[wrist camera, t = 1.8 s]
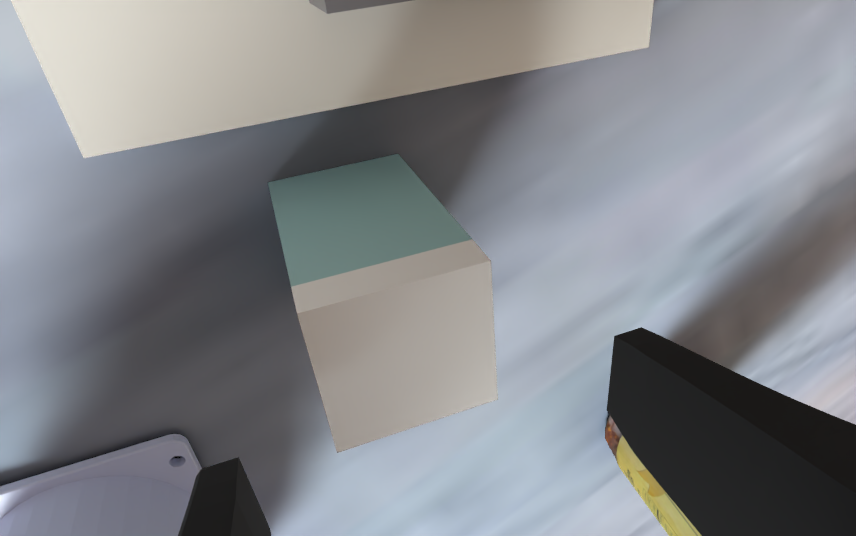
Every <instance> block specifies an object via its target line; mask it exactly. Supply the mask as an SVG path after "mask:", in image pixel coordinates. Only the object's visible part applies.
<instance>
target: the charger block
mask: <svg viewBox="0 0 856 536" xmlns="http://www.w3.org/2000/svg"><path fill="white" fill-rule="evenodd" d="M268 186H269V191H270V195H271V200H272V204H273V208H274V213H275V217H276V222H277V226H278V231H279V235H280V240H281V244H282V249H283V253H284V258H285V262H286V267H287V271H288V276H289V280H290V285H291V289H292V294H293V298H294V303H295V307H296V312H297V315H298V319H299V322H300V326H301V329H302V333H303V336H304V340H305V343H306V347H307V350H308V353H309V357H310V360H311V364H312V367H313V371H314V374H315V378H316V381H317V385H318V388H319V391H320V395H321V398H322V402H323V405H324V409H325V412H326V416H327V419H328V423H329V426H330V429H331V433H332V436H333V440H334V443H335V447H336V450H337V453H338V452H341V451H344V450H347V449H350V448H353V447H356V446H359V445H362V444H365V443H368V442H371V441H374V440H377V439H380V438H383V437H386V436H389V435H392V434H395V433H398V432H401V431H404V430H407V429H410V428H413V427H416V426H419V425H422V424H425V423H428V422H431V421H434V420H437V419H440V418H443V417H446V416H449V415H452V414H455V413H458V412H461V411H464V410H467V409H471V408H474V407H477V406H480V405H483V404H486V403H489V402H492V401H495V400H498V394H497V374H496V354H495V334H494V314H493V294H492V274H491V260H490V259H489V258H488V257H487V256H486V255H485V253H484V252H483V251H482V250H481V249H480V248H479V246H478V245H477V244H476V243H475V242H474V241H473V240H472V238H471V237H470V236H469V235H468V234H467V233H466V232H465V230H464V229H463V228H462V227H461V226H460V225H459V223H458V222H457V221H456V220H455V219H454V218H453V217H452V215H451V214H450V213H449V212H448V211H447V210H446V208H445V207H444V206H443V205H442V204H441V203H440V202H439V200H438V199H437V198H436V197H435V196H434V195H433V194H432V192H431V191H430V190H429V189H428V188H427V187H426V185H425V184H424V183H423V182H422V181H421V180H420V179H419V177H418V176H417V175H416V174H415V173H414V172H413V170H412V169H411V168H410V167H409V166H408V165H407V164H406V162H405V161H404V160H403V159H402V158H401V157H400V156H399V154H395V155H390V156H386V157H381V158H376V159H372V160H367V161H363V162H358V163H354V164H349V165H345V166H340V167H336V168H331V169H326V170H322V171H317V172H313V173H308V174H304V175H299V176H295V177H290V178H286V179H281V180H276V181H272V182H268Z"/></svg>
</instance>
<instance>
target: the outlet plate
mask: <svg viewBox="0 0 856 536" xmlns="http://www.w3.org/2000/svg"><path fill="white" fill-rule="evenodd" d="M11 2H12V4H13V6H14V8H15V10H16V13H17V15H18V17H19V19H20V21H21V23H22V26H23V28H24V30H25V32H26V34H27V36H28V39H29V41H30V43H31V45H32V47H33V49H34V51H35V54H36V56H37V58H38V60H39V62H40V64H41V67H42V69H43V71H44V73H45V75H46V77H47V80H48V82H49V84H50V86H51V88H52V90H53V93H54V95H55V97H56V99H57V101H58V103H59V106H60V108H61V110H62V112H63V114H64V116H65V119H66V121H67V123H68V125H69V127H70V129H71V132H72V134H73V136H74V138H75V140H76V142H77V145H78V147H79V149H80V151H81V153H82V155H83V158H88V157H93V156H98V155H103V154H108V153H113V152H118V151H124V150H129V149H134V148H139V147H144V146H149V145H154V144H159V143H164V142H169V141H175V140H180V139H185V138H190V137H195V136H200V135H205V134H210V133H215V132H220V131H225V130H231V129H236V128H241V127H246V126H251V125H256V124H261V123H266V122H271V121H276V120H281V119H287V118H292V117H297V116H302V115H307V114H312V113H317V112H322V111H327V110H332V109H338V108H343V107H348V106H353V105H358V104H363V103H368V102H373V101H378V100H383V99H388V98H394V97H399V96H404V95H409V94H414V93H419V92H424V91H429V90H434V89H439V88H445V87H450V86H455V85H460V84H465V83H470V82H475V81H480V80H485V79H490V78H495V77H501V76H506V75H511V74H516V73H521V72H526V71H531V70H536V69H541V68H546V67H552V66H557V65H562V64H567V63H572V62H577V61H582V60H587V59H592V58H597V57H602V56H608V55H613V54H618V53H623V52H628V51H633V50H638V49H643V48H648V47H649V40H650V31H651V21H652V12H653V2H654V0H11Z"/></svg>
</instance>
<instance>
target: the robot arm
mask: <svg viewBox="0 0 856 536" xmlns="http://www.w3.org/2000/svg"><path fill="white" fill-rule="evenodd" d="M607 411H608V413H609V414H610V416H611V418H612V419H613V421H614V422H615V424H616V426H617V427H618V429H619V431H620V432H621V434H622V435H623V437H624V438H625V440H626V441H627V443H628V444H629V446H630V447H631V449H632V450H633V452H634V454H635V455H636V456H637V458H638V459H639V460H640V461H641V463H642V464H643V465H644V466H645V468H646V469H647V470H648V471H649V472H650V474H651V475H652V476H653V477H654V479H655V480H656V481H657V482H658V483H659V485H660V486H661V487H662V488H663V490H664V491H665V492H666V493H667V494H668V496H669V497H670V498H671V499H672V500H673V502H674V503H675V504H676V505H677V506H678V508H679V509H680V510H681V511H682V512H683V514H684V515H685V516H686V517H687V519H688V520H689V521H690V522H691V523H692V525H693V526H694V527H695V528H696V529H697V531H698V532H699V533H700V534H701V535H702V536H856V425H855V424H852V423H850V422H847V421H845V420H842V419H840V418H837V417H835V416H832V415H830V414H827V413H825V412H823V411H820V410H818V409H816V408H813V407H811V406H808V405H806V404H804V403H801V402H799V401H797V400H794V399H792V398H790V397H787V396H785V395H783V394H781V393H779V392H776V391H774V390H772V389H770V388H767V387H765V386H763V385H761V384H759V383H757V382H754V381H752V380H750V379H748V378H746V377H744V376H742V375H740V374H737V373H735V372H733V371H731V370H729V369H727V368H725V367H723V366H721V365H719V364H717V363H715V362H713V361H711V360H709V359H707V358H704V357H702V356H700V355H698V354H696V353H694V352H692V351H690V350H688V349H686V348H684V347H682V346H680V345H678V344H676V343H674V342H672V341H670V340H668V339H666V338H663V337H661V336H659V335H657V334H655V333H653V332H650V331H648V330H646V329H644V328H638V329H635V330H632V331H629V332H626V333H623V334H620V335H617V336H614V346H613V355H612V365H611V375H610V385H609V394H608V404H607ZM175 456H182V457H181V458H173V457H175ZM0 536H271V532H270V528H269V526H268V523H267V521H266V519H265V517H264V514H263V512H262V510H261V507H260V505H259V503H258V501H257V498H256V496H255V494H254V492H253V489H252V487H251V485H250V482H249V480H248V478H247V476H246V473H245V471H244V469H243V466H242V464H241V462H240V460H239V457H238V458H235V459H232V460H229V461H226V462H223V463H219V464H216V465H213V466H210V467H207V468H204V469H202V467H201V465H200V463H199V461H198V459H197V457H196V455H195V453H194V451H193V449H192V447H191V445H190V443H189V441H188V440H187V439H186V437H185V436H182V435H180V434H170V435H166V436H163V437H159V438H156V439H153V440H150V441H146V442H143V443H140V444H137V445H133V446H130V447H127V448H124V449H120V450H117V451H114V452H110V453H107V454H104V455H101V456H97V457H94V458H91V459H88V460H84V461H81V462H78V463H75V464H71V465H68V466H65V467H62V468H58V469H55V470H52V471H49V472H45V473H42V474H39V475H36V476H32V477H29V478H26V479H23V480H19V481H16V482H13V483H9V484H6V485H3V486H0Z"/></svg>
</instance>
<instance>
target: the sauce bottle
mask: <svg viewBox="0 0 856 536" xmlns="http://www.w3.org/2000/svg"><path fill="white" fill-rule="evenodd" d="M605 439H606V441H607V443H608V445H609V448H610V449H611V450H612V452H613V454H614V456H615V458H616V460H617V463H618V465H619V467H620V469H621V470H622V472H623V473H624V474H625V476H626V477H627V478H628V480H629V481H630V483H631V484H632V485H633V487H634V488H635V490H636V491H637V492H638V494H639V495H640V497H641V498H642V499H643V501H644V502H645V503H646V505H647V506H648V508H649V509H650V510H651V512H652V513H653V514H654V516H655V517H656V519H657V520H658V521H659V523H660V524H661V525H662V527H663V528H664V530H665V531H666V532H667V534H668V535H669V536H702V535H701V534H700V533H699V532H698V531H697V529H696V528H695V527H694V526H693V525H692V523H691V522H690V521H689V520H688V519H687V517H686V516H685V515H684V514H683V512H682V511H681V510H680V509H679V508H678V506H677V505H676V504H675V503H674V502H673V500H672V499H671V498H670V497H669V496H668V494H667V493H666V492H665V491H664V490H663V488H662V487H661V486H660V485H659V483H658V482H657V481H656V480H655V479H654V477H653V476H652V475H651V474H650V472H649V471H648V470H647V469H646V468H645V466H644V465H643V464H642V463H641V461H640V460H639V459H638V458H637V456H636V455H635V454H634V452H633V450H632V449H631V447H630V446H629V444H628V443H627V441H626V440H625V438H624V437H623V435H622V434H621V432H620V431H619V429H618V427H617V426H616V424H615V422H614V421H613V419H612V418H611V416H609V418H608V420H607V424H606V427H605Z"/></svg>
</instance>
